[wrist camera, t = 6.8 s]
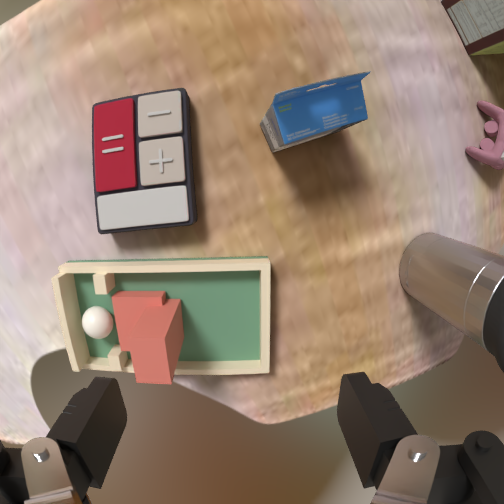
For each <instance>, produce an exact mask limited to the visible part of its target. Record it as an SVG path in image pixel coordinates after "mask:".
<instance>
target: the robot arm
mask: <svg viewBox="0 0 504 504" xmlns="http://www.w3.org/2000/svg"><path fill="white" fill-rule="evenodd" d="M399 275H400V281H401V284H402V286H403V288H404V290H405V291H406V292H407V293H408V294H409V295H410V296H412V297H413V298H415V299H416V300H418V301H419V302H421V303H422V304H423V305H425V306H426V307H427V308H429V309H430V310H432V311H433V312H435V313H436V314H437V315H439V316H440V317H442V318H443V319H445V320H446V321H447V322H449V323H450V324H452V325H453V326H454V327H456V328H457V329H458V330H460V331H461V332H463V333H464V334H465V335H467V336H468V337H470V338H471V339H472V340H474V341H475V342H477V343H478V344H479V345H480V346H482V347H483V348H484V349H486V350H487V351H489V352H490V353H491V354H492V355H493V356H495V358H496V360H497V363H498V365H499V367H500V368H501V370H502V371H503V372H504V256H502V255H499V254H496V253H493V252H490V251H487V250H484V249H481V248H478V247H475V246H472V245H469V244H466V243H463V242H460V241H457V240H454V239H451V238H448V237H444V236H441V235H438V234H434V233H426V234H422V235H420V236H418V237H416V238H415V239H414V240H413V241H412V242H411V243H410V244H409V245H408V247H407V248H406V250H405V252H404V253H403V256H402V259H401V263H400V272H399ZM337 416H338V422H339V425H340V427H341V430H342V432H343V435H344V438H345V440H346V443H347V445H348V448H349V451H350V453H351V456H352V458H353V461H354V463H355V466H356V468H357V471H358V474H359V477H360V479H361V482H362V485H363V487H364V488H368V487H372V486H375V488H376V490H377V492H376V494H375V495H374V497H373V499H372V501H371V503H370V504H504V445H503V443H502V442H501V441H500V440H499V438H498V437H497V436H496V435H494V434H492V433H490V432H487V431H476V432H473V433H471V434H469V435H468V436H467V437H466V438H465V440H464V443H463V444H460V445H449V446H439V445H438V444H437V443H436V442H435V441H434V440H433V439H432V438H430V437H427V436H424V435H418V434H417V433H416V431H415V429H414V428H413V426H412V424H411V423H410V421H409V420H408V418H407V417H406V415H405V414H404V412H403V411H402V409H400V406H399V404H398V403H397V402H396V401H395V398H394V397H393V396H392V394H391V392H390V391H389V390H388V389H387V388H385V387H384V386H382V385H381V384H379V383H375V384H372V383H371V382H370V380H369V378H368V377H367V375H366V374H365V372H358V373H351V374H344V375H343V376H342V379H341V386H340V393H339V399H338V406H337ZM126 422H127V413H126V408H125V405H124V402H123V398H122V395H121V391H120V388H119V384H118V382H117V380H116V379H115V378H105V377H95V378H94V379H93V381H92V382H91V384H90V385H89V387H88V388H87V389H86V388H83V389H82V390H80V391H79V392H77V393H76V394H75V395H73V397H72V398H71V400H70V401H69V403H68V406H66V408H65V409H64V410H63V413H62V414H61V415H60V416H59V418H58V419H57V421H56V422H55V424H54V425H53V427H52V429H51V430H50V431H49V433H48V434H47V436H46V437H39V438H34V439H32V440H30V441H28V442H27V443H26V444H25V445H24V446H23V448H22V449H20V448H18V449H17V448H5V447H4V446H3V444H2V443H1V441H0V504H92V502H91V500H90V498H89V496H88V494H87V490H88V488H89V486H90V487H94V488H99V489H101V487H102V484H103V482H104V479H105V476H106V474H107V471H108V469H109V466H110V464H111V461H112V459H113V456H114V454H115V451H116V448H117V446H118V444H119V441H120V439H121V436H122V434H123V431H124V429H125V426H126Z"/></svg>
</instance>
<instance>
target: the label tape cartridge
mask: <svg viewBox="0 0 504 504" xmlns="http://www.w3.org/2000/svg"><path fill="white" fill-rule="evenodd" d="M370 72H371V71H368V72H363V73H358V74H353V75H347V76H343V77H338V78H333V79H329V80H325V81H320V82H316V83H312V84H308V85H304V86H301V87H297V88H293V89H290V90H286V91H283V92H280V93H277V94H275V96H274V99H273V103H272V104H271V106H270V108H269V109H268V111H267V113H266V115H265V116H264V118H263V120H262V121H261V123H260V126H261V128H262V131H263V133H264V135H265V138H266V140H267V142H268V145H269V147H270V149H271V151H272V152H276V151H279V150H282V149H285V148H289V147H292V146H295V145H298V144H301V143H304V142H307V141H310V140H314V139H317V138H320V137H323V136H326V135H330V134H333V133H336V132H338V131H341V130H343V129H345V128H348V127H350V126H352V125H354V124H357V123H359V122H361V121H364V120H366V119H368V116H367V111H366V105H365V100H364V95H363V90H362V85H361V80H362V79H363V78H364V77H365V76H366V75H368V74H369V73H370ZM334 83H335V84H334ZM324 84H326V85H329V86H325V87H321V88H317V87H319V86H321V85H324ZM330 84H333V85H330ZM313 88H317V89H314V90H310V91H307V90H309V89H313Z"/></svg>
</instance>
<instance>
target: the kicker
mask: <svg viewBox="0 0 504 504" xmlns="http://www.w3.org/2000/svg"><path fill="white" fill-rule="evenodd" d="M112 303H113V309H114V315H115V321H116V327H117V332H118V338H119V343H120V348H121V351H130V354H131V359H132V363H133V368H134V373H135V377H136V382H138V383H155V384H172V380H173V377H174V373H175V369H176V366H177V362H178V358H179V354H180V351H181V347H182V344H183V340H184V329H183V319H182V308H181V299H166V293H165V291H117V292H116V293H115V294H114V295H113V296H112Z"/></svg>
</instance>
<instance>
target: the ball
mask: <svg viewBox="0 0 504 504" xmlns="http://www.w3.org/2000/svg"><path fill="white" fill-rule="evenodd" d="M82 326H83V329H84V331H85V332H86V333H87V334H88V335H89V336H90V337H92V338H95V339H102V338H105V337H107V336H108V335H109V334H110V333H111V331H112V328H113V318H112V316H111V314H110V313H109V311H108V310H106V309H105V308H103V307H100V306H93V307H91V308H89V309H87V310H86V311H85V313H84V315H83V317H82Z"/></svg>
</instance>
